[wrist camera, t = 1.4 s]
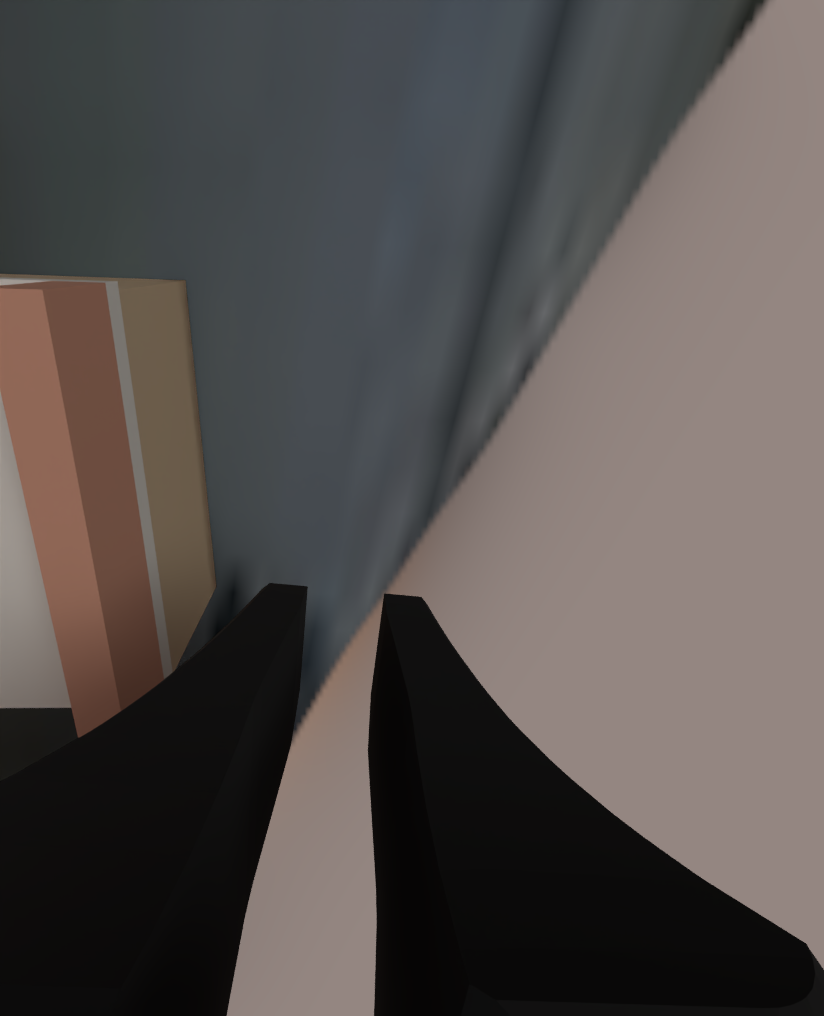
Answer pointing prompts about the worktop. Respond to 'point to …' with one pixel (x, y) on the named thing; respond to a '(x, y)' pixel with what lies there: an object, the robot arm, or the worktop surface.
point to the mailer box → (168, 446)
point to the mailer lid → (73, 508)
